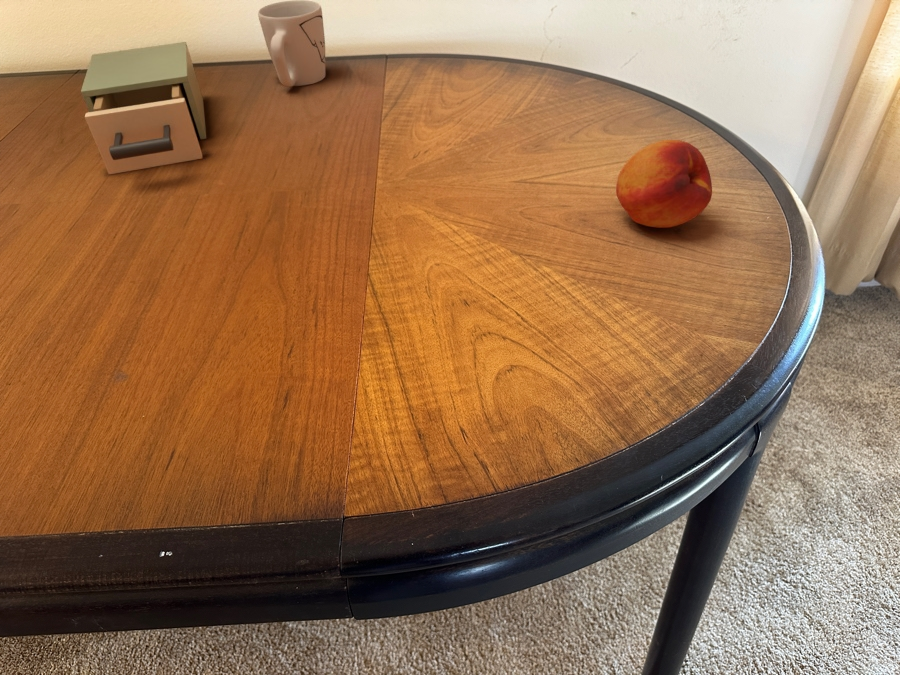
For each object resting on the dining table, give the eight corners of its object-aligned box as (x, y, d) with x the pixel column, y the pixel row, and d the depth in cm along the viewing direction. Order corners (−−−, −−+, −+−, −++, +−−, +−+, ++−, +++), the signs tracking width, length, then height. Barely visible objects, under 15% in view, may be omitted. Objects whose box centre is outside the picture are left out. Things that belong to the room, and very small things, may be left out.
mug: (316, 103, 88) (301, 25, 81) (257, 102, 89) (238, 25, 83) (340, 73, 96) (328, -1, 90) (286, 72, 98) (271, 0, 91)
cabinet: (208, 145, 79) (187, 75, 74) (110, 162, 77) (80, 91, 72) (205, 105, 89) (186, 41, 84) (117, 119, 87) (91, 54, 81)
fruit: (648, 254, 58) (663, 172, 53) (595, 213, 64) (604, 135, 58) (716, 231, 60) (738, 150, 55) (660, 193, 66) (674, 117, 61)
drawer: (204, 178, 71) (184, 119, 67) (105, 196, 69) (78, 136, 65) (199, 118, 84) (183, 65, 79) (116, 131, 82) (95, 77, 77)
